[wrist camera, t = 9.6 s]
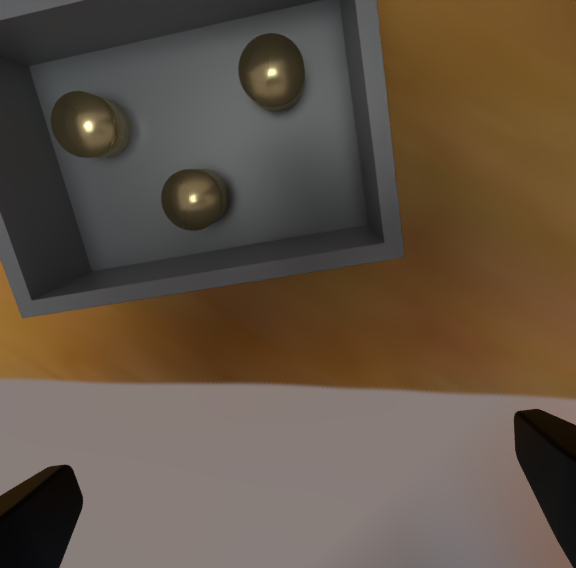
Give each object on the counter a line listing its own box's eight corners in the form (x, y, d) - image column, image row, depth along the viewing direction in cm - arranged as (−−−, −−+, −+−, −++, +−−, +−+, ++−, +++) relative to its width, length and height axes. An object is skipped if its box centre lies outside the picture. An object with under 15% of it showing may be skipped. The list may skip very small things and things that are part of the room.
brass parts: (299, 40, 17) (298, 26, 15) (324, 203, 18) (326, 207, 17) (65, 91, 18) (38, 83, 16) (108, 241, 19) (88, 249, 18)
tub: (351, -19, 17) (366, -93, 12) (381, 233, 19) (404, 257, 14) (20, 56, 18) (-87, 18, 13) (90, 282, 21) (21, 318, 16)
